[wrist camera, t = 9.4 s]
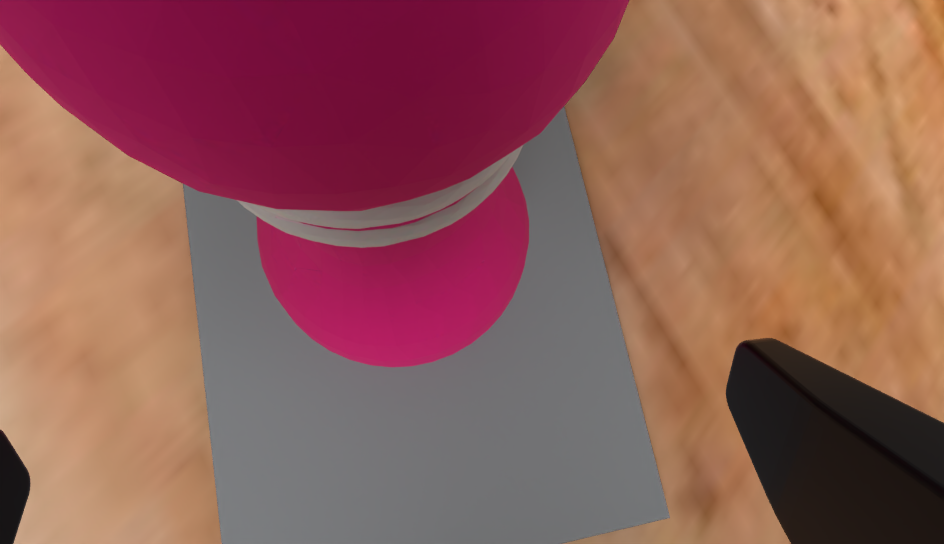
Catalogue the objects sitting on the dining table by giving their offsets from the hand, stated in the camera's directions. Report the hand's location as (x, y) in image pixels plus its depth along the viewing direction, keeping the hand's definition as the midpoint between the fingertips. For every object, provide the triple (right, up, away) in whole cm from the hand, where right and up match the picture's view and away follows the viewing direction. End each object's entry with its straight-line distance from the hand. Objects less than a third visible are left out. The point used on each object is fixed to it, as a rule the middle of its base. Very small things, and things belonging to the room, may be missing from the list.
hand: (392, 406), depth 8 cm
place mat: (-1, +2, +14) cm, 14 cm away
